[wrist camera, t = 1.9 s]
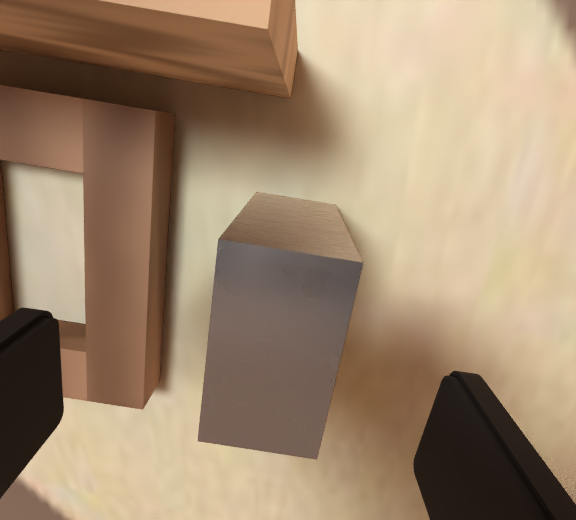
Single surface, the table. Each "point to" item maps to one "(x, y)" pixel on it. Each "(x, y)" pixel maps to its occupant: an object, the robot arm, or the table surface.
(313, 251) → the tall grey rectangular prism
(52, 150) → the wooden backboard stand
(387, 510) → the table surface
